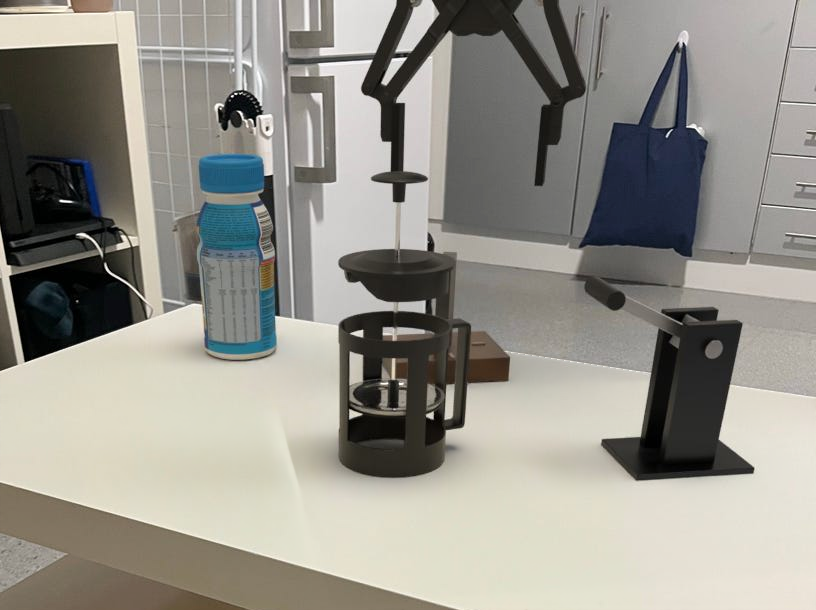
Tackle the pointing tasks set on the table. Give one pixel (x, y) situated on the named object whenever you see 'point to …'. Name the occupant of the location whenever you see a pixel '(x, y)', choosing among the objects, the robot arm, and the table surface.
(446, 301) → the dark gray upright plate
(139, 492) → the table surface
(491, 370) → the brown box
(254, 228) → the beverage bottle
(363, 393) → the french press
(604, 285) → the lever
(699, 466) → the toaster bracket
